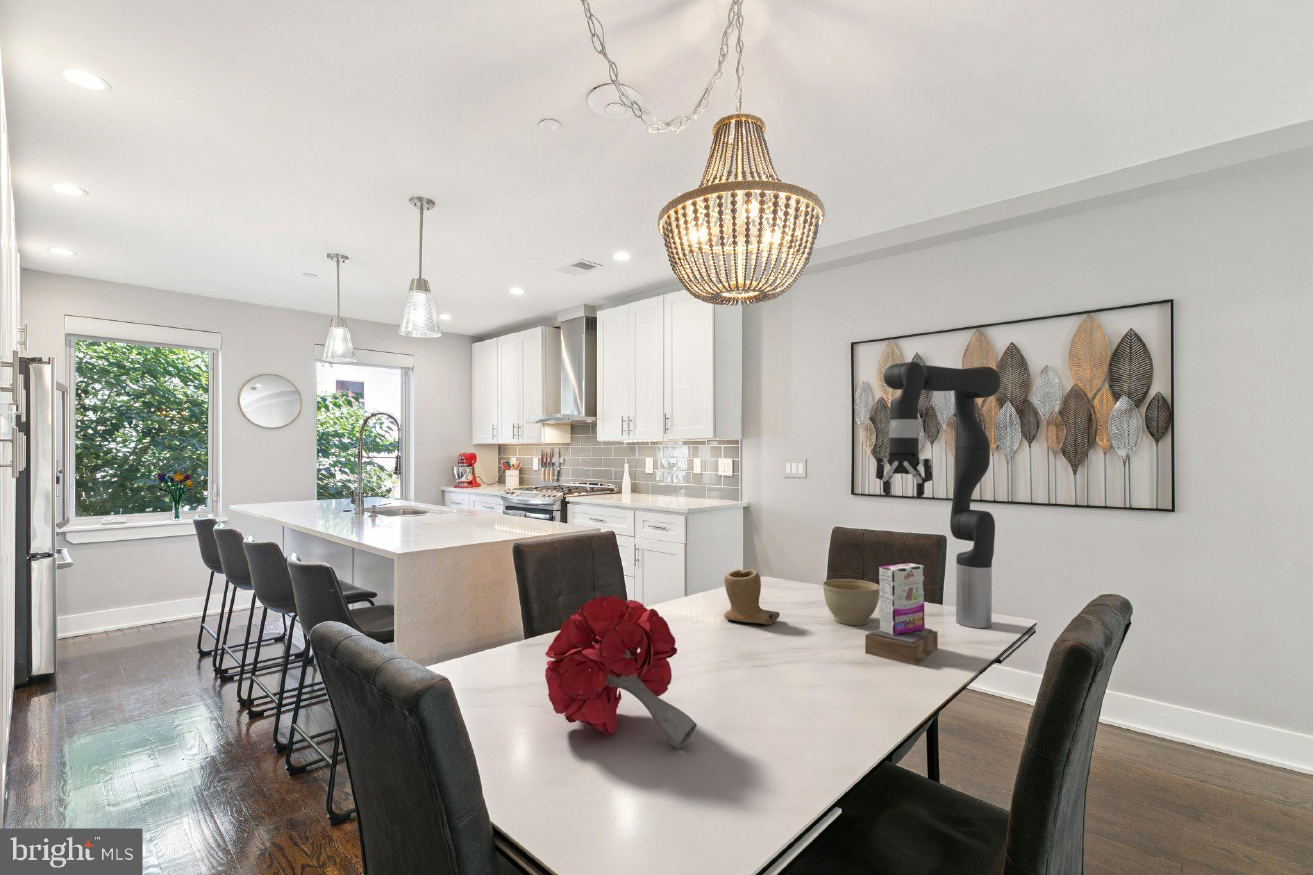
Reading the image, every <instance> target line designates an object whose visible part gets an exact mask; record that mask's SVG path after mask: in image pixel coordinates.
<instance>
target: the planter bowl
mask: <svg viewBox="0 0 1313 875" xmlns="http://www.w3.org/2000/svg"><path fill="white" fill-rule="evenodd" d="M822 586H823V587H822V588H823V596H824V600H825V603H826V605H827V607H828V609H829V611H830V613H831V614H832V615H833V620H834V621H835V622H837V623H840V624H842V625H843V624H844V625H848V626H849V625H850V626H862V625H863V626H864V625H867V624H868V623H869V620H870V618H871V617H872V615H873V614H874V612H875V611H876V608H877V607H878V604H879V601H880V599H879V597H880V594H879V584H877V583H874V582H871V581H868V580H867V581H866V580H861V579H859V580H858V579H850V578H848V579H847V578H846V579H845V578H844V579H843V578H842V579H841V578H840V579H838V578H837V579H828V580H824V581H823V582H822Z"/></svg>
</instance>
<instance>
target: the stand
mask: <svg viewBox="0 0 1313 875" xmlns="http://www.w3.org/2000/svg"><path fill="white" fill-rule="evenodd" d="M938 632H939V631H936V630H933V628H928V627H925V630H923V631H918V632H913V633H908V634H902V635H897V636H893V635H890V634H887V633H883V632H881V631H880V627H878V628H877V629H874V630H872V631H871V632H868V633H866V634H865V635H864V636H865V639H864V640H865V643H864V644H865V647H864V648H865V650H864V651H865V654H867V655H872V656H875V657H880V658H883V659H887V660H892V661H895V662H898V663H899V662H900V663H903V664H908V665H912V666H915V665H917V664H918V663H920V662H921V661H923V660H924V659H926V658H927V657H929V656H930V655H931V654H933V653H935V651H937V650H938V648H939V647H938V646H939V644H938V642H939V641H938V640H939V638H938V637H939V634H938Z"/></svg>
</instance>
